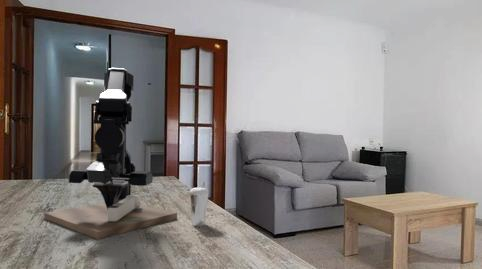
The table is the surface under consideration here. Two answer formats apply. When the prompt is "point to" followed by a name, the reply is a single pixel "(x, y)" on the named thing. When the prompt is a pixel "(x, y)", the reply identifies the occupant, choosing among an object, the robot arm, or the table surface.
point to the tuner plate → (96, 219)
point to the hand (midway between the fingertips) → (110, 212)
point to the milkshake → (198, 205)
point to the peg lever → (123, 207)
